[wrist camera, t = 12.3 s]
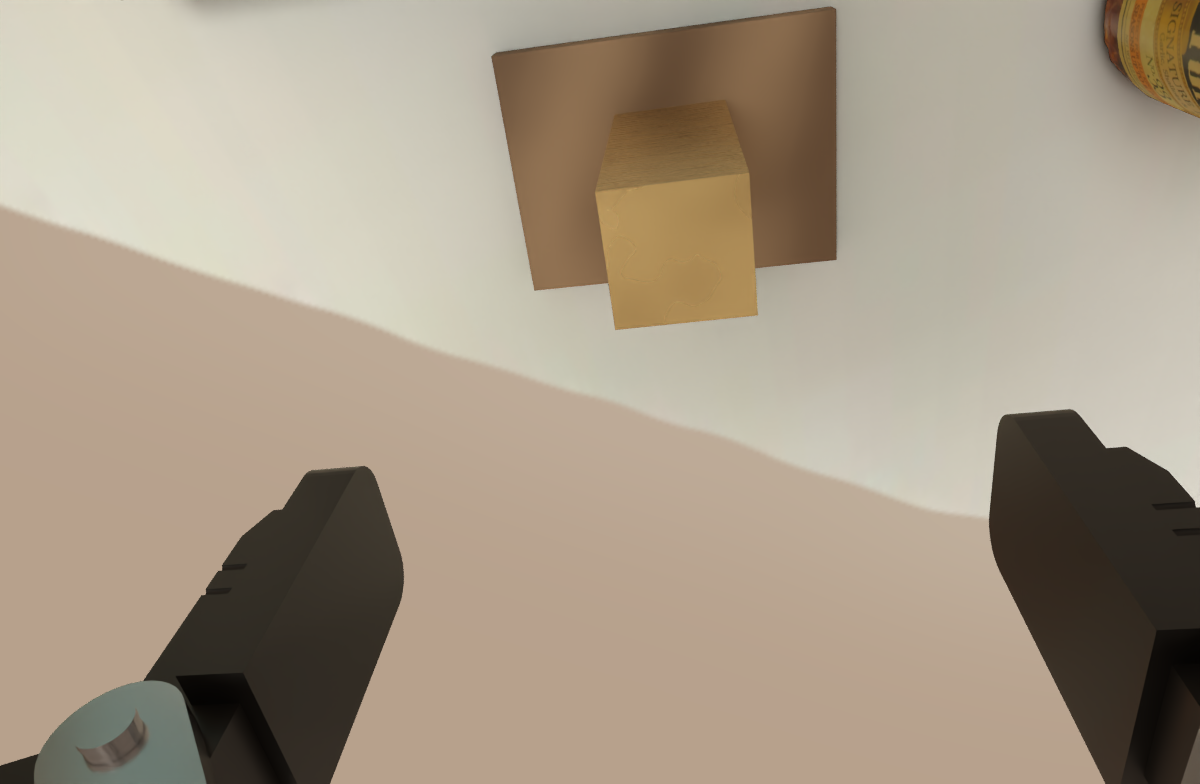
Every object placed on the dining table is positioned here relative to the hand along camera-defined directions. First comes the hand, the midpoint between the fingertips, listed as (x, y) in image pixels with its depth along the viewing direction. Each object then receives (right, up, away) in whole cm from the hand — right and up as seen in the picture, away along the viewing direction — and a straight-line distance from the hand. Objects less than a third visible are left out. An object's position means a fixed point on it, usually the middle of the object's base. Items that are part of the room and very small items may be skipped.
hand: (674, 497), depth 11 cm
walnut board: (+2, +10, +22) cm, 24 cm away
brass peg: (+2, +10, +21) cm, 23 cm away
